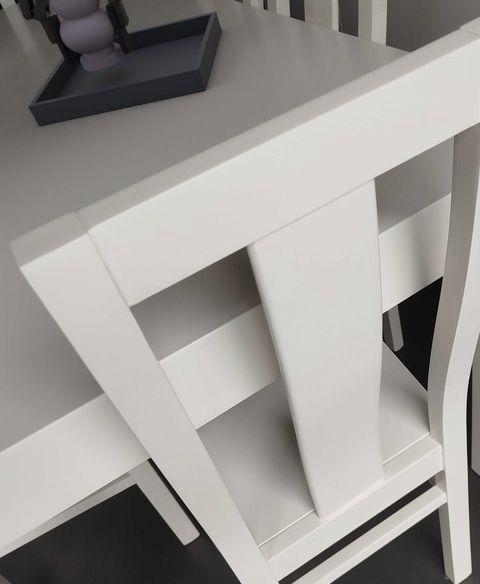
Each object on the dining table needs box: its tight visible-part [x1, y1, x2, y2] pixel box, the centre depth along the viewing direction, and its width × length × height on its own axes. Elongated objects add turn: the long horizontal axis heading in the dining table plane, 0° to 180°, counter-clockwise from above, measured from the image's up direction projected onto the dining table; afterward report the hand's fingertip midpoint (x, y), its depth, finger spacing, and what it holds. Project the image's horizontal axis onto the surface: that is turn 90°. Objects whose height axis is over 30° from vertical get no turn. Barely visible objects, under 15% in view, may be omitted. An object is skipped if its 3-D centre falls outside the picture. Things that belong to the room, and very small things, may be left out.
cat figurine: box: [49, 0, 123, 71], centre depth 85 cm, size 8×8×12 cm
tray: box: [27, 10, 222, 127], centre depth 90 cm, size 26×22×3 cm
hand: (100, 56), depth 89 cm, fingers closed on cat figurine, 8 cm apart
